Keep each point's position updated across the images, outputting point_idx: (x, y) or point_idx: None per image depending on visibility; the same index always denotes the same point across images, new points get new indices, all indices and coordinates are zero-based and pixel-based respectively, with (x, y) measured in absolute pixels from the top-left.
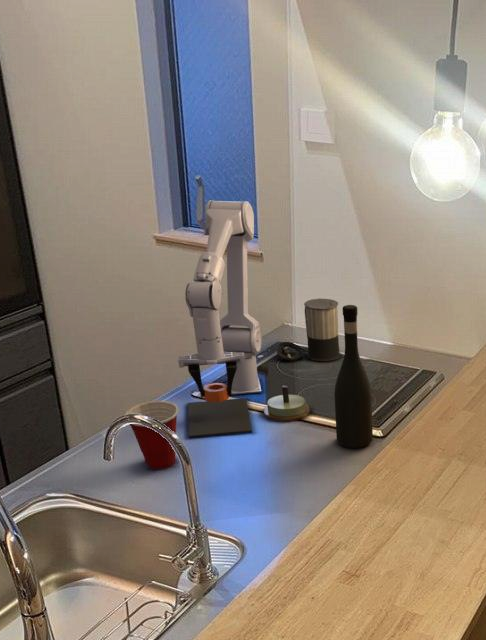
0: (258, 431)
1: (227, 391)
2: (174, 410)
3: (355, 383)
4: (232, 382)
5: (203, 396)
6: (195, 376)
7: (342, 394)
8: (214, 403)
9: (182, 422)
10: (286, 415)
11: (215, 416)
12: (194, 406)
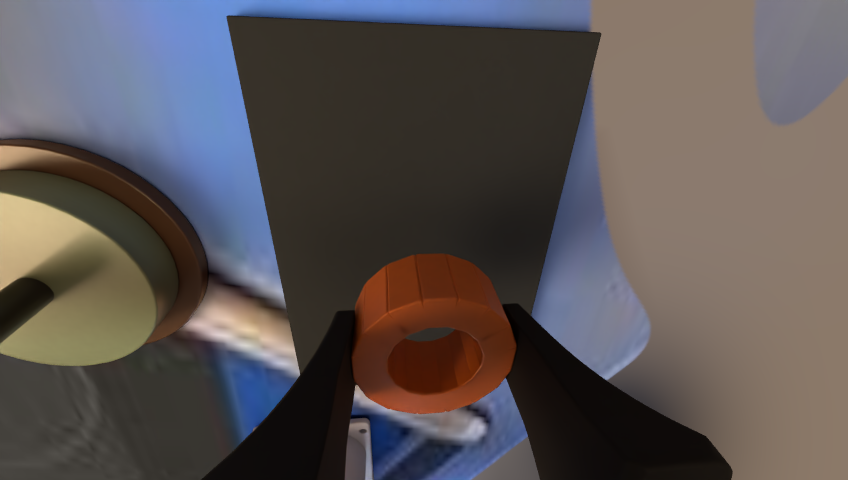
0: (193, 30)
1: (356, 326)
2: None
3: None
4: (300, 375)
5: (508, 305)
6: (633, 415)
7: None
8: None
9: (570, 235)
10: (23, 172)
11: (432, 250)
12: None
